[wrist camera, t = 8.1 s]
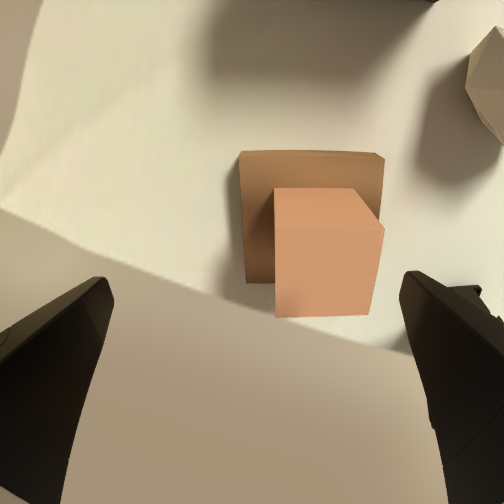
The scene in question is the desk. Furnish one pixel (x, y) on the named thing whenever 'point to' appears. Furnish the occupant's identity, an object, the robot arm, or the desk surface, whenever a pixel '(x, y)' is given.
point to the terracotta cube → (324, 252)
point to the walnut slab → (296, 176)
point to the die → (488, 81)
